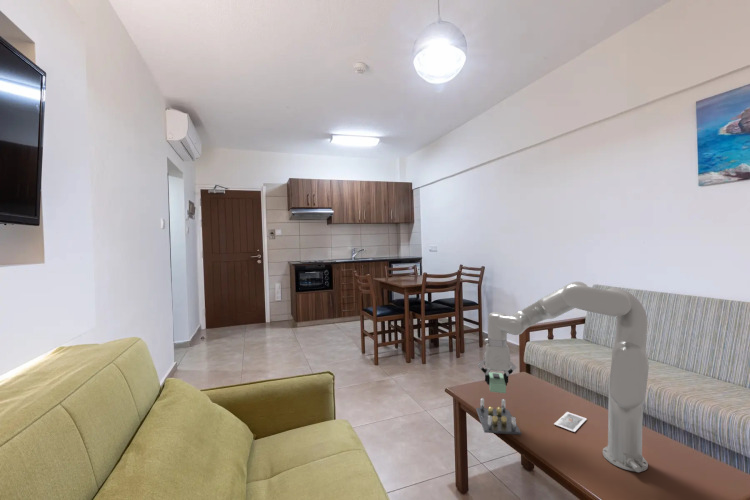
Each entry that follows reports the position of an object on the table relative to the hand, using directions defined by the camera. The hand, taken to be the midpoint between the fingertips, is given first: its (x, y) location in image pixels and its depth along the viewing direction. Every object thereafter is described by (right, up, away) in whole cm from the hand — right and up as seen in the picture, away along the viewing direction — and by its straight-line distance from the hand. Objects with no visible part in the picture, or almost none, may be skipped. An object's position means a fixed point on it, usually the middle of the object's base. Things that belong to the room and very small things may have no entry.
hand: (496, 383), depth 141 cm
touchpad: (+31, -17, -1) cm, 35 cm away
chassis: (0, -16, 0) cm, 16 cm away
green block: (0, -1, 0) cm, 1 cm away
